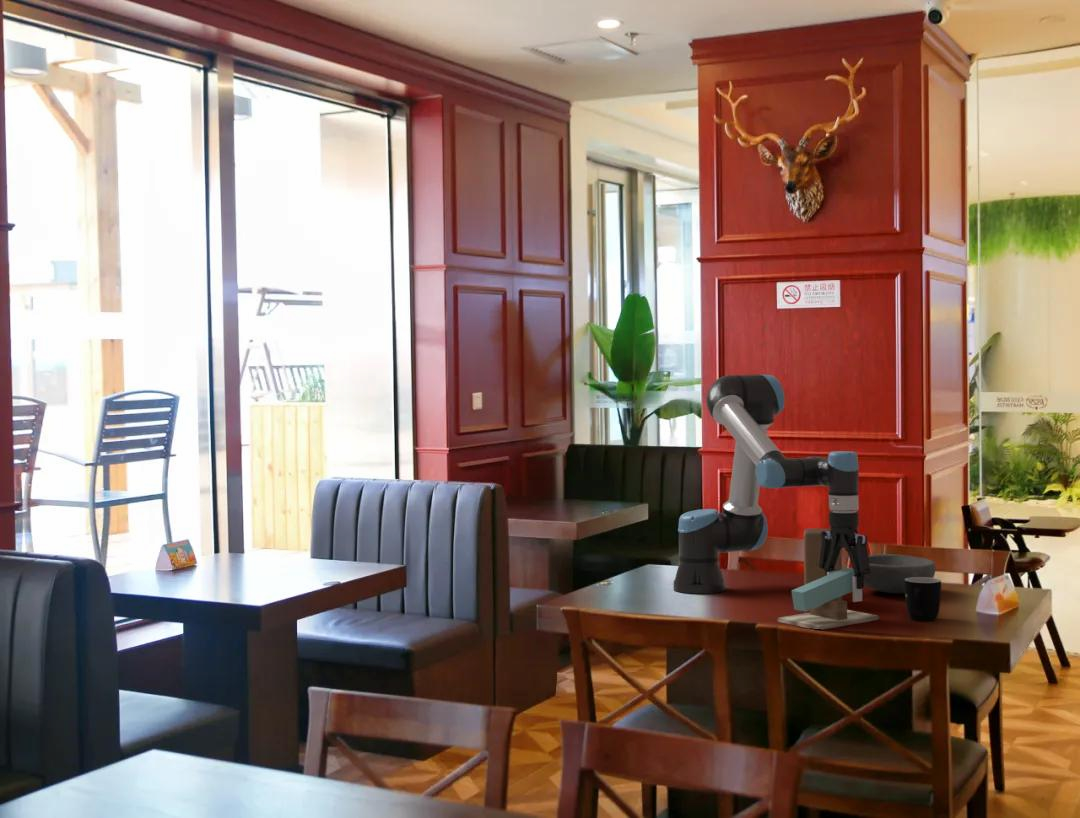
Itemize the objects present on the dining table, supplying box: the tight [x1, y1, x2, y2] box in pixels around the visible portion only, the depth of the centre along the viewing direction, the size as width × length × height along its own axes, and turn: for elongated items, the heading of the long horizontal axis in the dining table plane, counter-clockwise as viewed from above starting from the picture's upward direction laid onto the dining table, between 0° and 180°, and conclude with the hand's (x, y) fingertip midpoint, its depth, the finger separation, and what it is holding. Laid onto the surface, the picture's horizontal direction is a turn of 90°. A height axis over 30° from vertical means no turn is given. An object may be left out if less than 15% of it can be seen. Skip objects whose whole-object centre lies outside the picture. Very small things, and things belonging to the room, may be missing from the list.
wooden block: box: [803, 528, 843, 601], centre depth 348 cm, size 10×10×20 cm
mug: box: [904, 577, 942, 622], centre depth 321 cm, size 12×9×10 cm
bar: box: [791, 566, 855, 613], centre depth 322 cm, size 4×20×5 cm, turn 123°
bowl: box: [864, 553, 937, 595], centre depth 361 cm, size 23×22×10 cm
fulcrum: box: [777, 599, 880, 630], centre depth 322 cm, size 14×22×6 cm, turn 124°
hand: (844, 598), depth 326 cm, fingers open, 8 cm apart
